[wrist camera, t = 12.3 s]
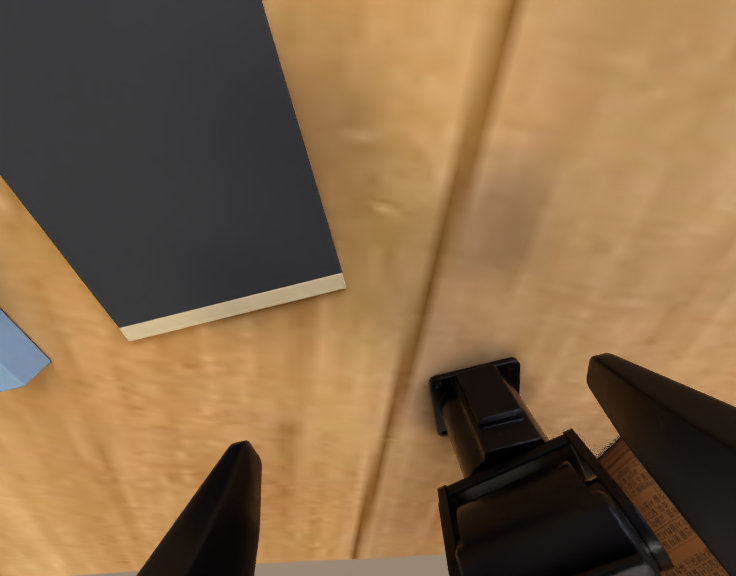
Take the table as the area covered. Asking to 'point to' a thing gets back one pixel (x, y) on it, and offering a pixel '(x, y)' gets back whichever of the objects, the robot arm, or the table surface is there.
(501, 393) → the robot arm
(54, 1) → the dark gray flat panel
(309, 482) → the table surface
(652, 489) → the pancake mix bag
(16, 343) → the scoop
